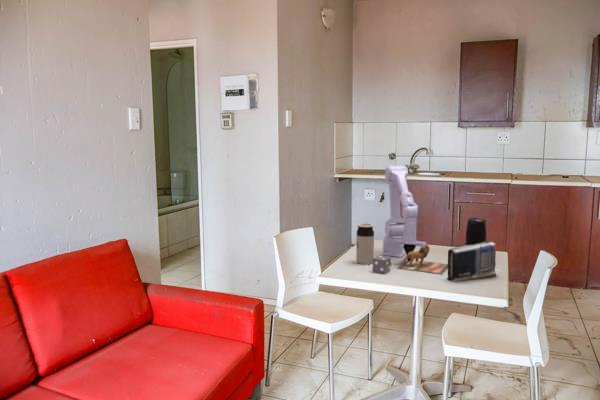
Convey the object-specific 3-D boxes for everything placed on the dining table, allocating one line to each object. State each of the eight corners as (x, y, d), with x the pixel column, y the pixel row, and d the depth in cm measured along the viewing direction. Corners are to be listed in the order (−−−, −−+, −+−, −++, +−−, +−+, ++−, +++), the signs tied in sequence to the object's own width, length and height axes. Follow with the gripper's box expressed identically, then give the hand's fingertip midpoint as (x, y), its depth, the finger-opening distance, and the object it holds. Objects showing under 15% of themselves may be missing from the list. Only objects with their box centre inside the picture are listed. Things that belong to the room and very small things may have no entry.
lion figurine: (419, 257, 236) (424, 241, 232) (427, 263, 232) (433, 246, 228) (398, 263, 226) (404, 247, 223) (407, 270, 223) (413, 253, 219)
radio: (449, 282, 205) (451, 247, 203) (439, 276, 213) (440, 242, 211) (500, 278, 210) (502, 243, 208) (488, 272, 218) (489, 239, 216)
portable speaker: (488, 259, 239) (490, 219, 236) (477, 262, 233) (479, 221, 230) (472, 255, 246) (474, 216, 243) (461, 259, 240) (463, 218, 237)
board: (396, 268, 225) (397, 267, 225) (408, 259, 240) (408, 259, 240) (441, 274, 215) (441, 274, 215) (451, 265, 230) (451, 264, 230)
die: (372, 272, 220) (372, 258, 219) (377, 268, 225) (377, 255, 224) (385, 273, 217) (386, 260, 216) (390, 270, 222) (390, 257, 221)
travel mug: (374, 260, 238) (374, 223, 236) (372, 265, 231) (373, 226, 228) (357, 259, 240) (357, 222, 237) (355, 264, 232) (355, 226, 230)
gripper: (391, 231, 229) (391, 260, 231) (423, 234, 222) (422, 264, 224) (397, 228, 235) (396, 257, 237) (427, 231, 228) (426, 260, 230)
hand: (409, 260), depth 231 cm, fingers closed, pressing on lion figurine
